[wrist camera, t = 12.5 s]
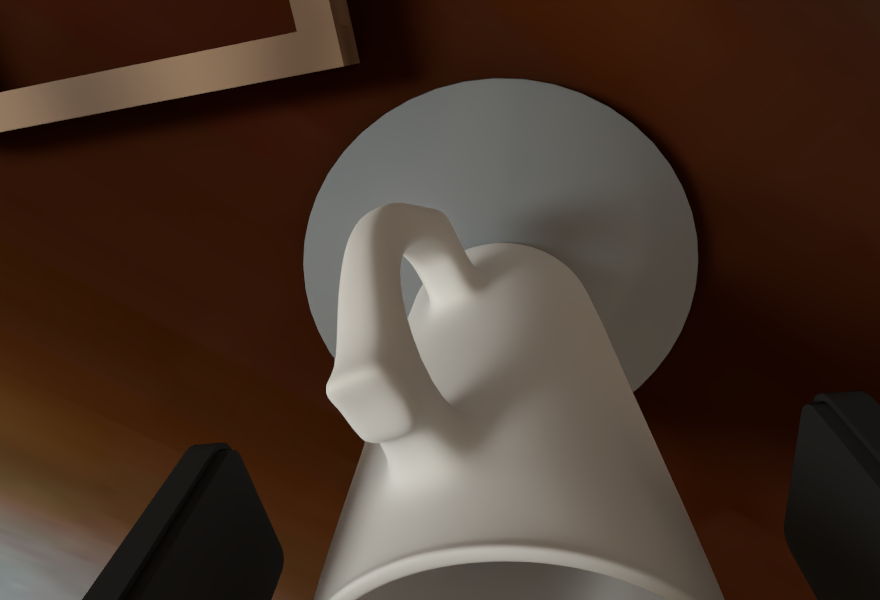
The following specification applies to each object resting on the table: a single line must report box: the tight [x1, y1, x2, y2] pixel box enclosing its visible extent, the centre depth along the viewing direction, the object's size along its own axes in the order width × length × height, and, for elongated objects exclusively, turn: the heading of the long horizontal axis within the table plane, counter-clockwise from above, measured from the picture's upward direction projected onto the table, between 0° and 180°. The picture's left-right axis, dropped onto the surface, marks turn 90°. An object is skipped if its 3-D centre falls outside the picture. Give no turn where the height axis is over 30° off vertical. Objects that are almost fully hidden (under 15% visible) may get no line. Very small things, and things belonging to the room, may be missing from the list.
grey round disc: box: [303, 77, 698, 392], centre depth 18 cm, size 13×13×1 cm
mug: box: [314, 203, 724, 600], centre depth 13 cm, size 10×7×12 cm, turn 25°
